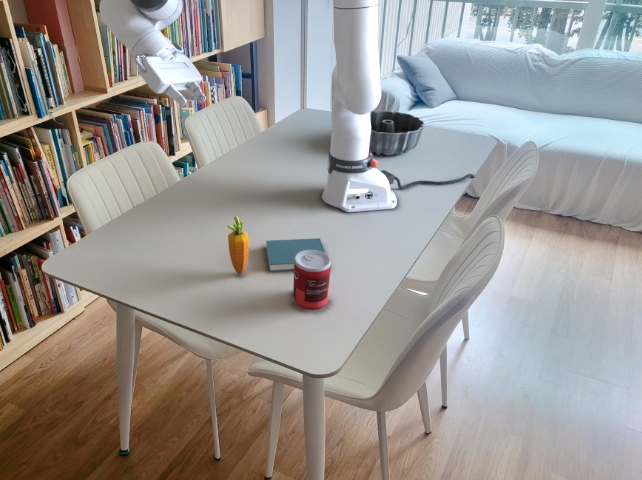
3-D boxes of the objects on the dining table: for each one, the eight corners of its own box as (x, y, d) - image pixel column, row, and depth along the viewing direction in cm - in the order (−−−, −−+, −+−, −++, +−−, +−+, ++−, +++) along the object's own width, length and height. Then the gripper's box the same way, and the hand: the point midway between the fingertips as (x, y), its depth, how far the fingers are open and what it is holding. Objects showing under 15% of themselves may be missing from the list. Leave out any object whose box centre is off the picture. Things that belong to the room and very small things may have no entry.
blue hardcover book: (319, 245, 136) (320, 238, 135) (327, 268, 127) (327, 261, 126) (266, 247, 135) (266, 240, 133) (269, 271, 126) (269, 264, 124)
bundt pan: (334, 145, 195) (336, 119, 190) (379, 130, 210) (382, 105, 204) (390, 167, 180) (394, 139, 174) (434, 149, 194) (439, 122, 189)
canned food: (304, 285, 121) (306, 245, 115) (334, 298, 117) (338, 257, 111) (286, 302, 116) (286, 260, 110) (316, 315, 112) (318, 273, 106)
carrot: (247, 281, 122) (245, 225, 114) (226, 279, 123) (223, 223, 114) (252, 270, 126) (251, 215, 118) (232, 267, 127) (230, 212, 118)
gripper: (138, 44, 110) (182, 96, 112) (183, 45, 128) (220, 90, 130) (121, 65, 113) (164, 116, 114) (167, 63, 131) (204, 107, 132)
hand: (194, 102), depth 122 cm, fingers open, 8 cm apart
